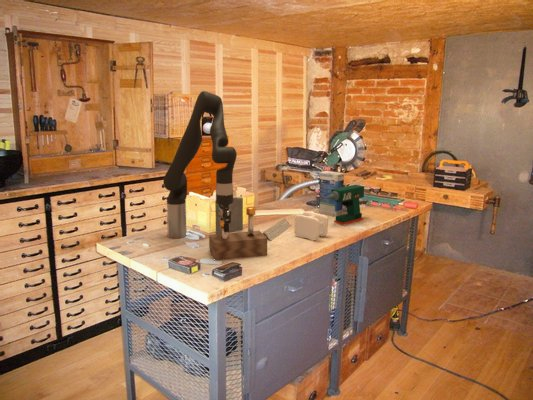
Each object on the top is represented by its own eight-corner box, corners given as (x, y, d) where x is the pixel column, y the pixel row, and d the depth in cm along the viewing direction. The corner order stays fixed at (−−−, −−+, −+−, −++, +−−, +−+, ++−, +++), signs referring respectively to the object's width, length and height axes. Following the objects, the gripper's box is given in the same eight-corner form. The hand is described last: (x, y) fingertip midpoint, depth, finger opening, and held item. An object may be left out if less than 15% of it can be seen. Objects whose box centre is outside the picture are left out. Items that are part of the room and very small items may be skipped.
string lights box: (342, 214, 269) (345, 173, 263) (335, 217, 263) (338, 174, 257) (324, 210, 277) (326, 170, 271) (317, 213, 272) (319, 171, 266)
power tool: (327, 229, 238) (329, 193, 233) (318, 226, 243) (319, 191, 238) (363, 219, 258) (365, 186, 254) (353, 217, 263) (355, 184, 259)
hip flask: (217, 234, 226) (217, 196, 222) (213, 232, 230) (213, 195, 225) (243, 229, 235) (243, 193, 231) (240, 228, 239) (239, 192, 234)
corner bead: (272, 242, 218) (272, 232, 217) (255, 239, 221) (255, 230, 220) (292, 227, 244) (292, 218, 243) (277, 225, 247) (277, 216, 246)
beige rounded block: (292, 235, 227) (293, 214, 224) (304, 231, 234) (305, 210, 232) (316, 242, 217) (317, 219, 214) (328, 237, 225) (329, 215, 222)
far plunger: (247, 241, 198) (247, 209, 194) (245, 238, 202) (245, 206, 198) (256, 240, 199) (256, 208, 196) (253, 237, 203) (253, 206, 199)
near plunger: (221, 254, 195) (221, 222, 192) (219, 251, 199) (219, 219, 196) (230, 253, 197) (230, 221, 193) (228, 250, 200) (228, 219, 197)
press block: (214, 260, 191) (214, 243, 189) (209, 251, 202) (209, 234, 200) (267, 255, 198) (267, 238, 196) (259, 246, 209) (259, 230, 207)
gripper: (212, 189, 197) (213, 226, 201) (219, 196, 184) (220, 235, 188) (229, 189, 199) (229, 224, 203) (236, 195, 186) (237, 233, 190)
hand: (224, 229), depth 195 cm, fingers open, 5 cm apart
